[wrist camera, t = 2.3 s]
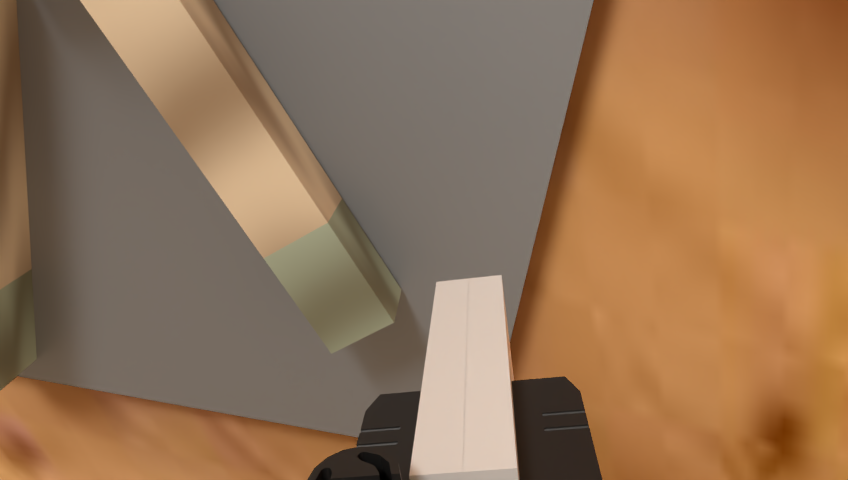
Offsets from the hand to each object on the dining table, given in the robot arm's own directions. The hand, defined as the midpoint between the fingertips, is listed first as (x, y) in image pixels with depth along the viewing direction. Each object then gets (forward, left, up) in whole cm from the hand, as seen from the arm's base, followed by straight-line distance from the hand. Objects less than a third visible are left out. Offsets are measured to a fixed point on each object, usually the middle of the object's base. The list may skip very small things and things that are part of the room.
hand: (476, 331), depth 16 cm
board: (-1, -9, -10) cm, 13 cm away
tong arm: (-2, -8, -8) cm, 11 cm away
